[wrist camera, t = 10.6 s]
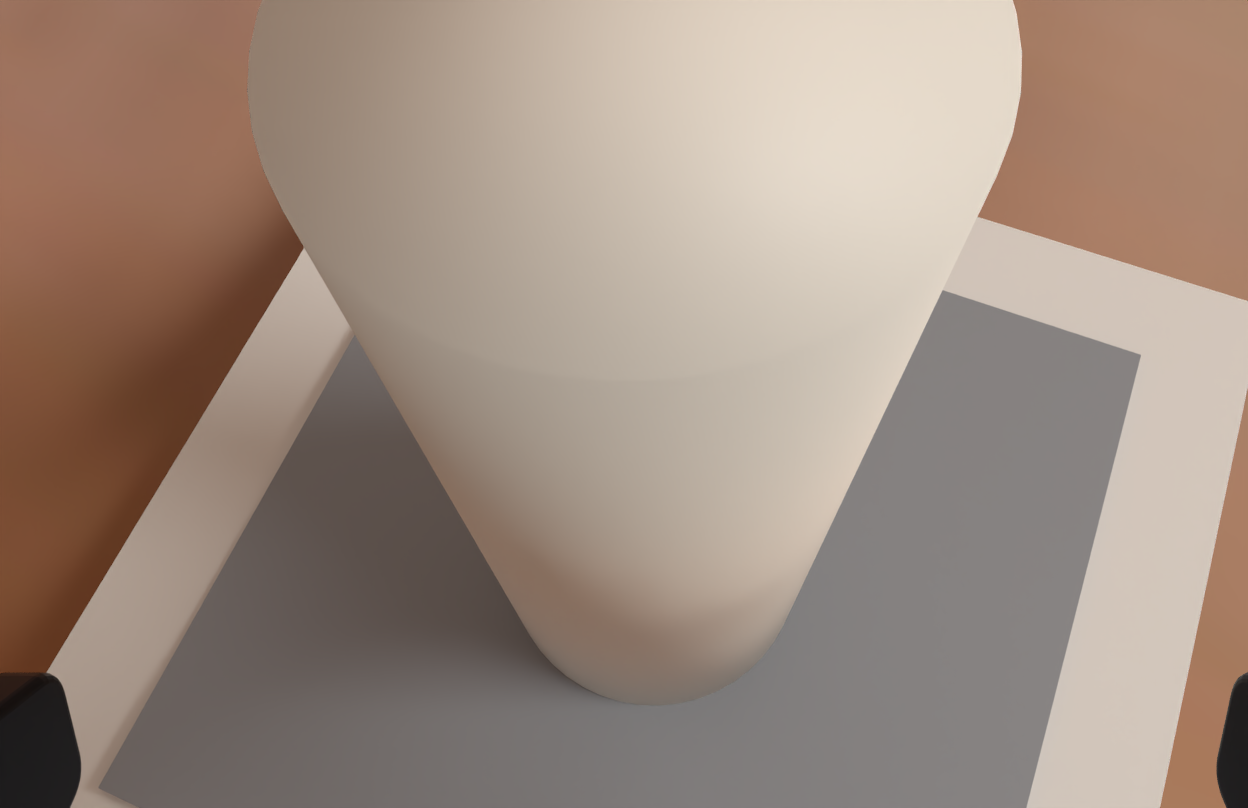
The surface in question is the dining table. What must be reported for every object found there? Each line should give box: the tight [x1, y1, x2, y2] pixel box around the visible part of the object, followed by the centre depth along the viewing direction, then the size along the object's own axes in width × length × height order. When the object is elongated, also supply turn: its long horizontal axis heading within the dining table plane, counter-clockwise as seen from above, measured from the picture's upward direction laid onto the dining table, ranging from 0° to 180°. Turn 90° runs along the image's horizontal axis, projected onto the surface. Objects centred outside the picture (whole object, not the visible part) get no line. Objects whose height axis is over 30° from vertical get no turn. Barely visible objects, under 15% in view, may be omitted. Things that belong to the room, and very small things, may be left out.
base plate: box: [46, 217, 1248, 808], centre depth 20 cm, size 18×18×3 cm
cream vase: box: [247, 0, 1022, 706], centre depth 13 cm, size 5×5×13 cm
